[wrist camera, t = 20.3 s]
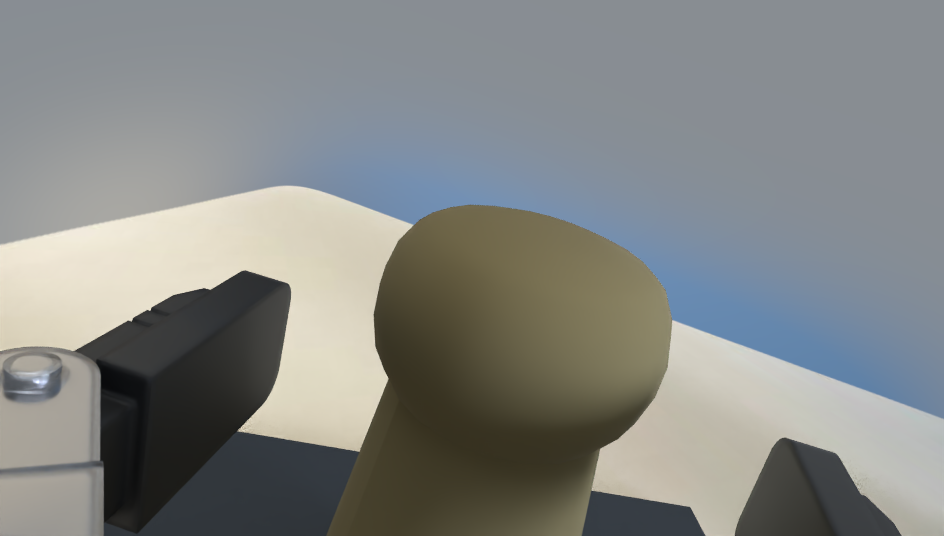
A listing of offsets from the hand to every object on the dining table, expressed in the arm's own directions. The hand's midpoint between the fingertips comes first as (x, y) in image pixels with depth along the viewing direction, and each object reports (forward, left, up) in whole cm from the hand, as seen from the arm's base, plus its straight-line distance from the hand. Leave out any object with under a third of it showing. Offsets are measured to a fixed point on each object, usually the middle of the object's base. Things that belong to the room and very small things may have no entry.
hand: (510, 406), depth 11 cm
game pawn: (0, +2, -9) cm, 9 cm away
